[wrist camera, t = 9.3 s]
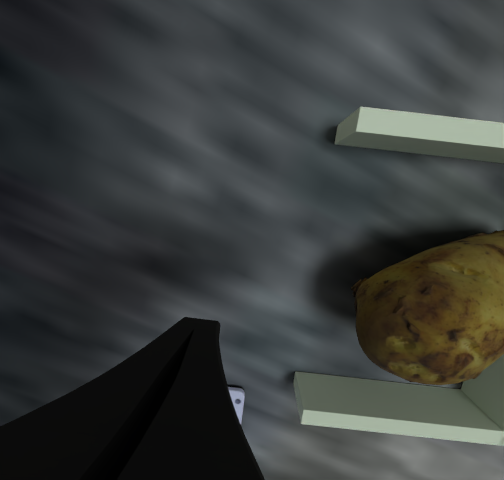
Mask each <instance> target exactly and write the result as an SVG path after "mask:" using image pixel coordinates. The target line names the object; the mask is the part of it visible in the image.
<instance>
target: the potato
mask: <svg viewBox="0 0 504 480" xmlns="http://www.w3.org/2000/svg"><path fill="white" fill-rule="evenodd" d="M361 280H362V278H361V279H360V280H359V281H358V282H356V284H355V285H353V287H351V290H353V296H354V297H355V303H354V305H355V311H356V332H357V337H358V340H359V344H360V346H361V348H362V350H363V351H364V353H365V354H366V355H367V357H368V358H369V359H370V360H371V361H372V362H373V363H375V364H376V365H377V366H379V367H380V368H382V369H384V370H386V371H387V372H389V373H392V374H394V375H396V376H398V377H401V378H403V379H405V380H408V381H410V382H418V383H422V384H433V385H445V384H455V383H459V382H463V381H466V380H469V379H475V378H477V377H478V376H479V375H480V374H481V372H482V371H483V370H484V369H486V368H487V367H488V366H490V365H491V364H492V363H494V362H495V361H496V360H497V359H498V358H500V357H501V356H502V355H503V354H504V230H502V231H497V230H496V231H494V232H492V233H490V234H486V233H478V234H475V235H471V236H468V237H466V238H465V239H461V240H458V241H452V242H450V243H447V244H443V245H439V246H436V247H433V248H430V249H428V250H425V251H423V252H421V253H418V254H416V255H414V256H412V257H410V258H407V259H405V260H403V261H401V262H399V263H396V264H394V265H391V266H389V267H387V268H385V269H383V270H381V271H379V272H378V273H376V274H374V275H373V276H371V277H370V278H368V279H367V278H366V277H365V278H364V279H363V280H362V281H361Z"/></svg>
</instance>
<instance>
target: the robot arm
mask: <svg viewBox="0 0 504 480" xmlns="http://www.w3.org/2000/svg"><path fill="white" fill-rule="evenodd" d="M219 333H220V323H219V322H218V321H213V320H205V319H197V318H188V317H184V318H183V319H181V320H180V321H179V322H177V323H176V324H175V325H173V326H172V327H171V328H169V329H168V330H167V331H166V332H164V333H163V334H162V335H160V336H159V337H158V338H156V339H155V340H153V341H152V342H151V343H149V344H148V345H147V346H145V347H144V348H142V349H141V350H140V351H138V352H137V353H135V354H133V355H132V356H130V357H129V358H127V359H126V360H124V361H123V362H121V363H120V364H118V365H117V366H115V367H114V368H112V369H110V370H109V371H107V372H106V373H104V374H102V375H100V376H99V377H97V378H95V379H94V380H92V381H90V382H88V383H86V384H85V385H83V386H81V387H79V388H77V389H76V390H74V391H72V392H70V393H68V394H66V395H64V396H62V397H60V398H58V399H56V400H54V401H52V402H50V403H48V404H46V405H44V406H42V407H40V408H38V409H36V410H34V411H32V412H30V413H28V414H26V415H24V416H21V417H19V418H17V419H15V420H13V421H11V422H9V423H7V424H5V425H2V426H0V480H265V479H264V477H263V475H262V473H261V470H260V468H259V466H258V464H257V462H256V459H255V457H254V455H253V453H252V450H251V448H250V446H249V444H248V441H247V439H246V437H245V435H244V432H243V430H242V427H241V421H242V413H243V405H244V396H245V392H244V390H243V389H241V388H234V387H228V386H227V382H226V378H225V374H224V370H223V365H222V360H221V354H220V347H219ZM236 399H240V400H236Z"/></svg>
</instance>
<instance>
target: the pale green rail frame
mask: <svg viewBox="0 0 504 480" xmlns="http://www.w3.org/2000/svg"><path fill="white" fill-rule="evenodd" d="M335 144H336V145H345V146H353V147H362V148H371V149H380V150H389V151H398V152H406V153H415V154H424V155H433V156H442V157H450V158H459V159H468V160H477V161H486V162H495V163H503V164H504V123H499V122H491V121H482V120H473V119H464V118H455V117H447V116H438V115H429V114H420V113H412V112H403V111H394V110H385V109H377V108H368V107H360V108H358V109H357V110H356V111H355V112H354V113H352V114H351V115H350V116H349V117H347V118H346V119H345V120H344V121H342V122H341V123H340V124H339V125H338V127H337V132H336V138H335ZM293 385H294V390H295V395H296V401H297V406H298V411H299V416H300V422H301V424H307V425H317V426H326V427H335V428H344V429H353V430H363V431H372V432H381V433H390V434H400V435H409V436H418V437H427V438H436V439H446V440H455V441H464V442H473V443H482V444H492V445H501V446H504V354H503V355H502V356H501V357H500V358H498V359H497V360H496V361H495V362H494V363H492V364H491V365H490V366H488V367H487V368H486V369H484V370H483V371H482V372H481V374H480V375H479V376H478V377H477V378H475V379H469V380H466V381H463V384H462V387H461V389H452V388H443V387H434V386H425V385H416V384H406V383H397V382H388V381H379V380H370V379H361V378H352V377H342V376H333V375H324V374H315V373H306V372H297V371H295V376H294V382H293Z"/></svg>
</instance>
